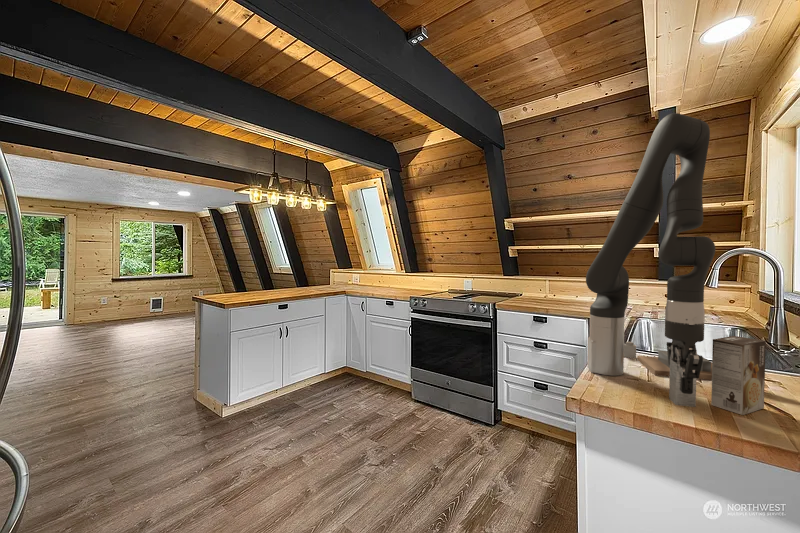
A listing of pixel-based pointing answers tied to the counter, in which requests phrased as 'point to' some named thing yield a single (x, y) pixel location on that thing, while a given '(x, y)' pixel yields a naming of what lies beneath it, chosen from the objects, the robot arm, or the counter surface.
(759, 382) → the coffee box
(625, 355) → the grey rectangular block
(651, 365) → the dock
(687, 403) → the key peg
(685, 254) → the robot arm
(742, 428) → the counter surface
